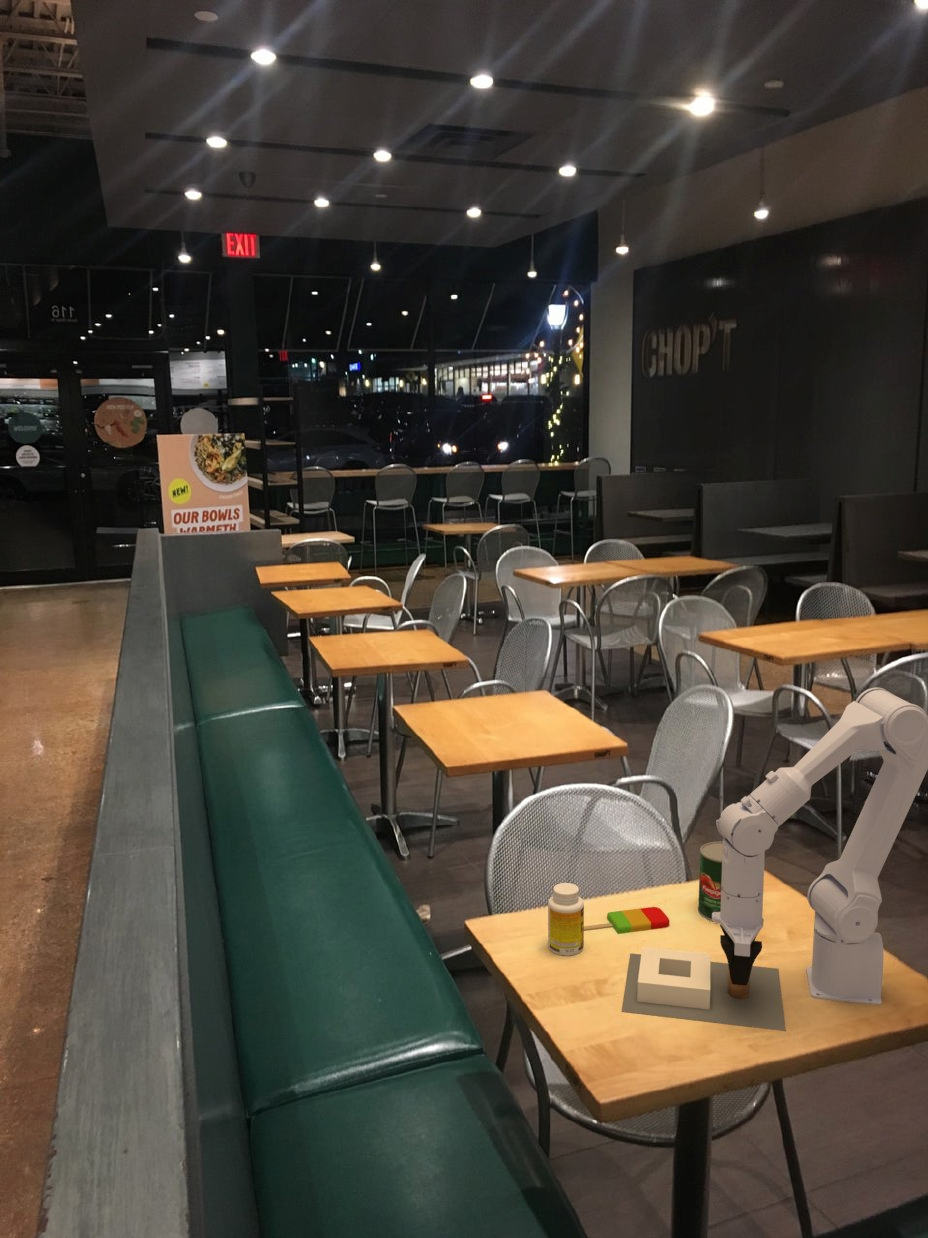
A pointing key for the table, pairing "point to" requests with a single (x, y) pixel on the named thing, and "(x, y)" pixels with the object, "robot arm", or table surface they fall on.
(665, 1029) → the table surface
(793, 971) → the table surface
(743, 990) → the peg
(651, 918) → the popsicle
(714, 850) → the canned tomato
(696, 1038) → the table surface
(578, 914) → the supplement bottle
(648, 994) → the hole block
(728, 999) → the mat
